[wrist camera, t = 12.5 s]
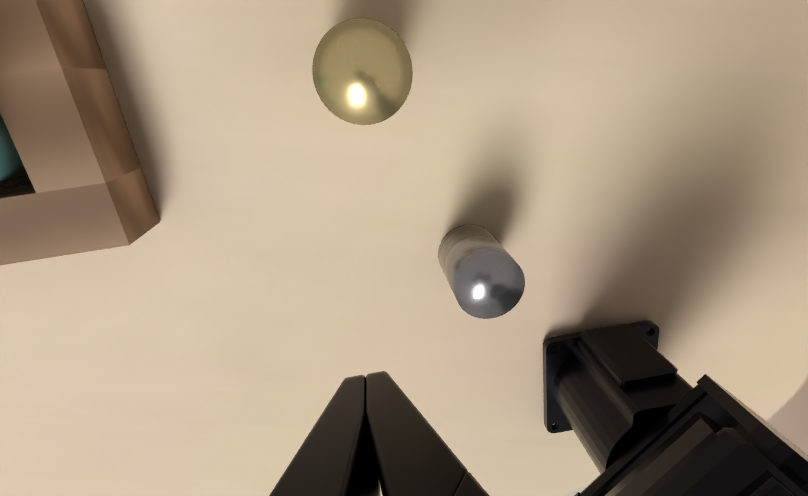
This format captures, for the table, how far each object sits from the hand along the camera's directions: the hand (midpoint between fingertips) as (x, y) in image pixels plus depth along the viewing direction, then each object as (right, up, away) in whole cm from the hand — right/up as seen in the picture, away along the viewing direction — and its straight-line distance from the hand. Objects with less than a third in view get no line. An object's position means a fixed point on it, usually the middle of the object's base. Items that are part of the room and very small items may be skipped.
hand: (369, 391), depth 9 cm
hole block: (-15, +7, +9) cm, 20 cm away
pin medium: (-1, +10, +10) cm, 14 cm away
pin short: (+4, +3, +14) cm, 14 cm away
